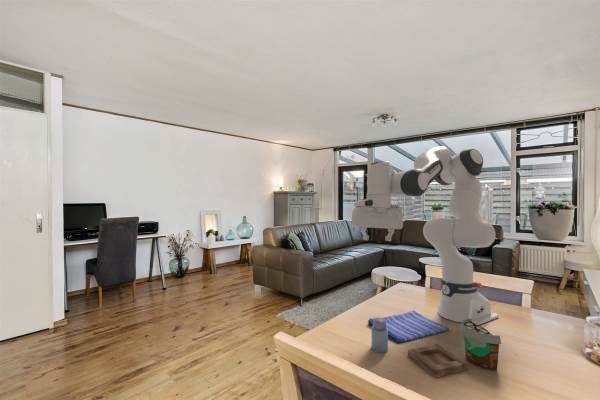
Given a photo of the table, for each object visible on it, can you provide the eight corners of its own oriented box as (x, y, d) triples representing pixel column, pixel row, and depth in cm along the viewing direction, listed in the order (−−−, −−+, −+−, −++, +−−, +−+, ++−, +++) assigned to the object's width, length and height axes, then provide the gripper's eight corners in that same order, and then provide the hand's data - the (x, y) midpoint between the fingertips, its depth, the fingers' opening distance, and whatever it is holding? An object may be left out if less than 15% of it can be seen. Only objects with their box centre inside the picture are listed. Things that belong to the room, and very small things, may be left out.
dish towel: (365, 325, 109) (365, 317, 109) (413, 314, 119) (413, 307, 119) (397, 346, 94) (397, 337, 94) (449, 332, 103) (449, 324, 103)
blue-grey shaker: (381, 343, 94) (381, 316, 94) (391, 351, 90) (391, 322, 89) (368, 346, 93) (368, 318, 93) (377, 353, 88) (377, 324, 88)
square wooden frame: (437, 349, 90) (437, 344, 90) (467, 369, 80) (467, 363, 80) (407, 356, 87) (407, 350, 87) (435, 377, 76) (435, 370, 76)
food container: (451, 350, 90) (451, 318, 89) (470, 349, 90) (470, 317, 90) (479, 374, 77) (479, 337, 77) (501, 373, 78) (501, 336, 78)
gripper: (397, 205, 114) (396, 240, 113) (350, 201, 109) (348, 238, 107) (407, 204, 108) (406, 242, 107) (358, 201, 102) (356, 240, 101)
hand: (377, 240), depth 107 cm, fingers open, 8 cm apart
